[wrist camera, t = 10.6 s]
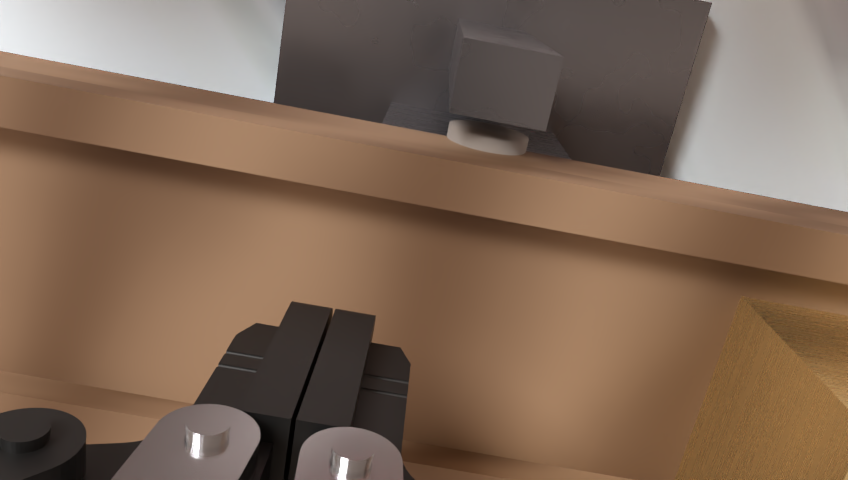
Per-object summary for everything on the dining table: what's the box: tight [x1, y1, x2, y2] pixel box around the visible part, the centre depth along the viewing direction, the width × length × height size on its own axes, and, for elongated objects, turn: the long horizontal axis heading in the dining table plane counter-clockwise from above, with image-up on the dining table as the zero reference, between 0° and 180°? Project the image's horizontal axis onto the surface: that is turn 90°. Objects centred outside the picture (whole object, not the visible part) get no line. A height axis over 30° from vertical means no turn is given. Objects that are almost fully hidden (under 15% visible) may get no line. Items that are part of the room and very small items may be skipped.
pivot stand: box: [274, 0, 712, 176], centre depth 20 cm, size 12×16×8 cm
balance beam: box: [0, 51, 848, 480], centre depth 18 cm, size 28×9×5 cm, turn 79°
